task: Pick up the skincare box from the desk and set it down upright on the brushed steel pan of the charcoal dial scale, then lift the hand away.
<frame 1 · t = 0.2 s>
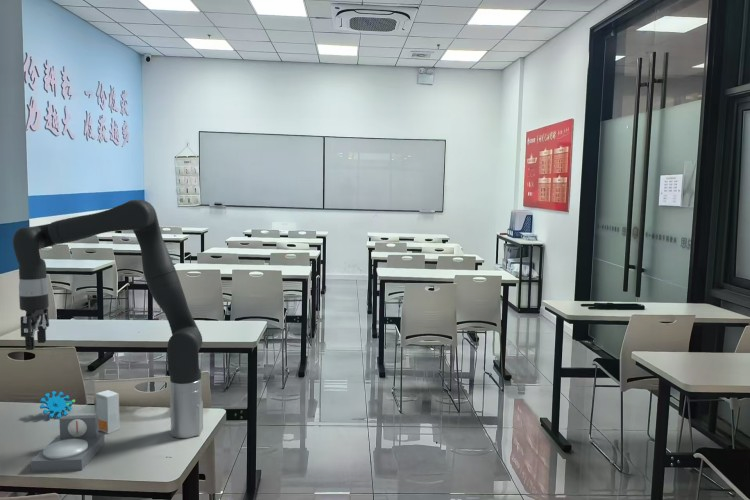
hand: (36, 346, 174), 28 cm above the table, tool pointing down, fingers open, 8 cm apart
skincare box: (108, 430, 182), on the table
dial scale: (70, 456, 163), on the table
gear: (58, 415, 194), on the table
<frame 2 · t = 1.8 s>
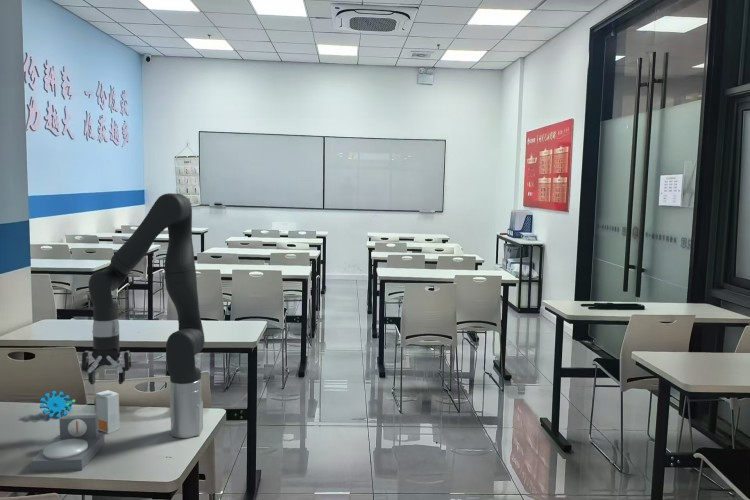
hand: (106, 383, 181), 15 cm above the table, tool pointing down, fingers open, 8 cm apart
nothing on the table moved.
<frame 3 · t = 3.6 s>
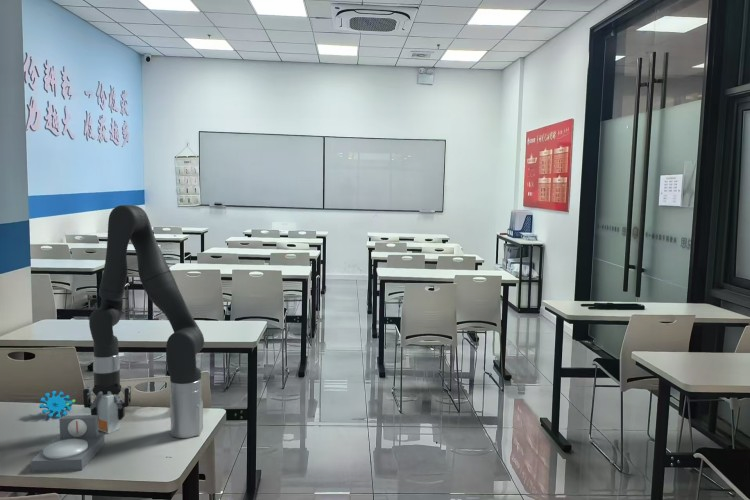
hand: (108, 419, 182), 3 cm above the table, tool pointing down, fingers closed on skincare box, 7 cm apart
skincare box: (108, 430, 182), on the table, touching gripper
everything else where it was.
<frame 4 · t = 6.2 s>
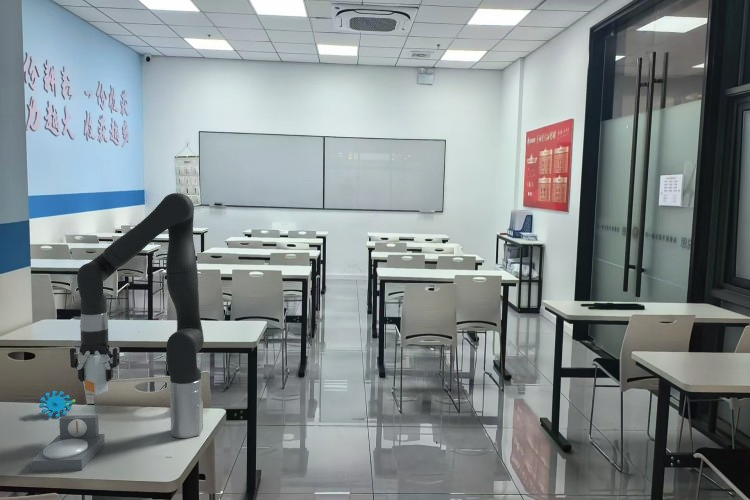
hand: (95, 380, 175), 18 cm above the table, tool pointing down, fingers closed on skincare box, 7 cm apart
skincare box: (96, 392, 175), point 14 cm above the table, touching gripper
everything else where it was.
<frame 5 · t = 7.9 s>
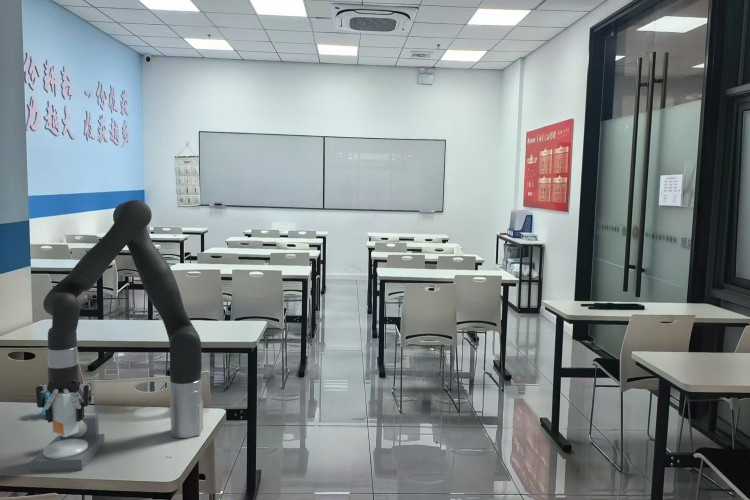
hand: (65, 420, 160), 11 cm above the table, tool pointing down, fingers closed on skincare box, 7 cm apart
skincare box: (65, 433, 160), point 8 cm above the table, touching gripper
everything else where it was.
when the fingers open (9 cm above the table, at t = 9.0 s): skincare box drops 1 cm, resting on dial scale.
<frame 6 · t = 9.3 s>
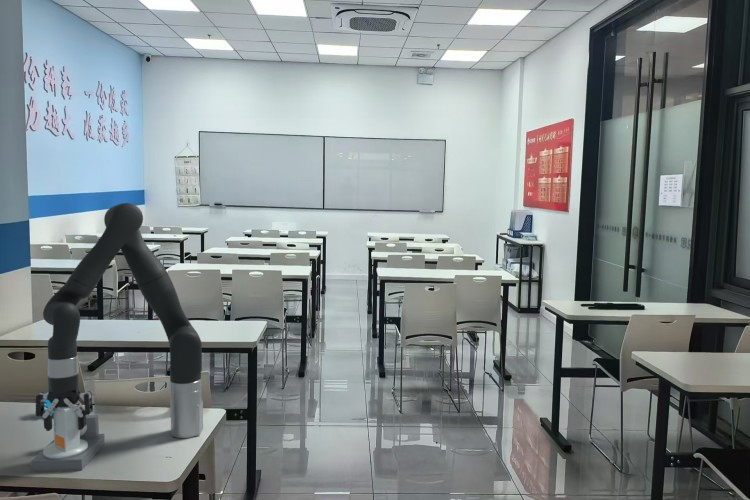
hand: (65, 429, 160), 9 cm above the table, tool pointing down, fingers open, 8 cm apart
skincare box: (67, 447, 160), point 4 cm above the table, touching dial scale
everything else where it was.
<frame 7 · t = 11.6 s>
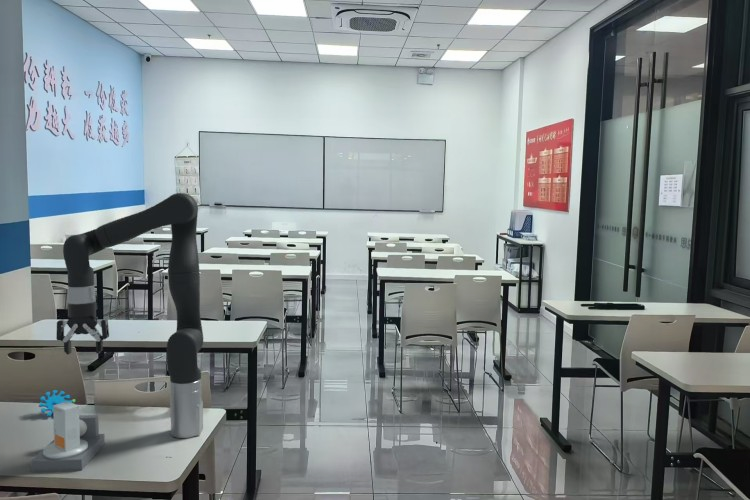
hand: (83, 353, 174), 26 cm above the table, tool pointing down, fingers open, 8 cm apart
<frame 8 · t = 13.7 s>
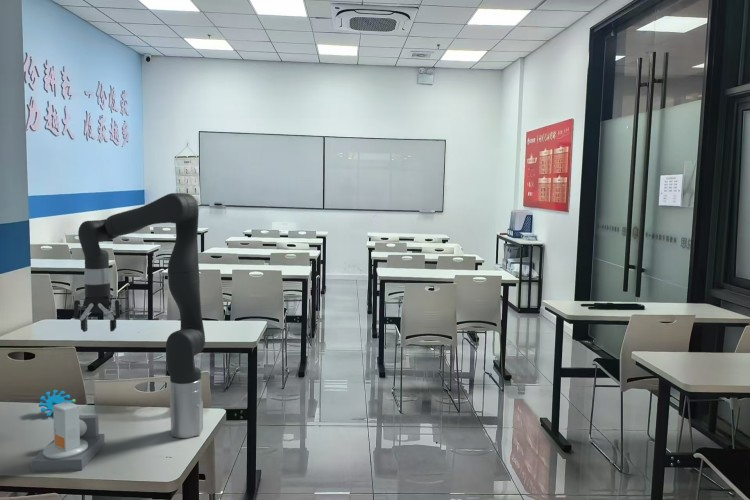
hand: (98, 331, 187), 30 cm above the table, tool pointing down, fingers open, 8 cm apart
at the end: skincare box inside the target area on the dial scale (0.4 cm from its centre), point 3.8 cm above the dial scale's base; skincare box tilted 0°; the gripper is holding nothing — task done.
